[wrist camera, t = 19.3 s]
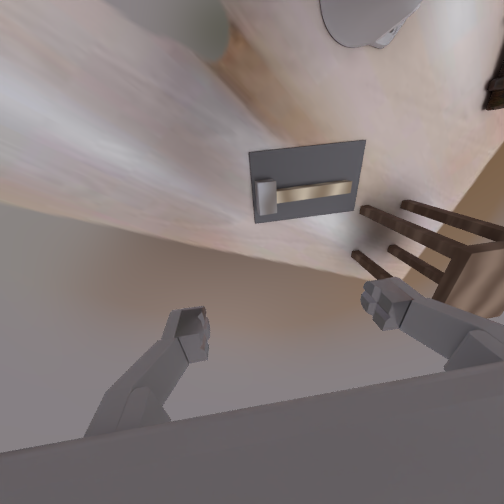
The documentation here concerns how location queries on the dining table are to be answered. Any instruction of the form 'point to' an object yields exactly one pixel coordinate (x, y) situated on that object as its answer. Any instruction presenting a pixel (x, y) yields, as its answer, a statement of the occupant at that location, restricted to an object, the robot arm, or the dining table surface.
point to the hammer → (294, 193)
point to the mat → (309, 176)
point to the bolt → (497, 92)
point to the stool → (462, 257)
